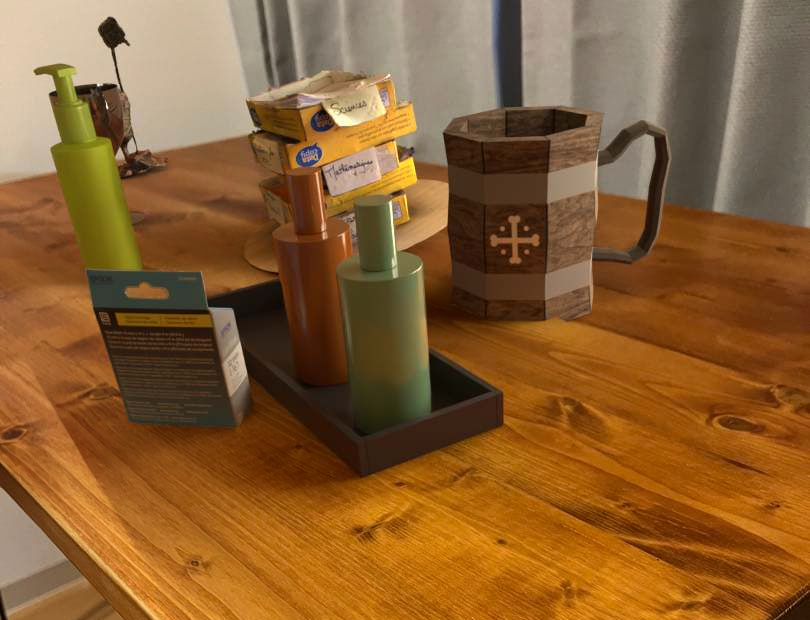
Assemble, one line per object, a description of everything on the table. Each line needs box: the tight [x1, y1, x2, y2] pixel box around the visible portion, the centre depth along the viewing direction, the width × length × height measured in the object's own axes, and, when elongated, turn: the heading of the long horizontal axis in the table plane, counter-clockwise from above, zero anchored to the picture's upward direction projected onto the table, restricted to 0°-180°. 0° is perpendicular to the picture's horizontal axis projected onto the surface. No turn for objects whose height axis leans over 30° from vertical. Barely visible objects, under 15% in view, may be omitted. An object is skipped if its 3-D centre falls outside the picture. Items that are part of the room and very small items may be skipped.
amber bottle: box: [272, 166, 353, 386], centre depth 65 cm, size 6×6×15 cm
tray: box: [206, 277, 505, 479], centre depth 69 cm, size 11×31×3 cm, turn 31°
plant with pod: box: [97, 15, 169, 178], centre depth 126 cm, size 8×11×20 cm
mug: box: [442, 104, 673, 323], centre depth 76 cm, size 20×14×15 cm
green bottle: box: [335, 195, 432, 435], centre depth 58 cm, size 6×6×15 cm
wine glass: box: [48, 82, 147, 225], centre depth 107 cm, size 8×8×15 cm
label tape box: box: [84, 268, 255, 429], centre depth 62 cm, size 9×4×12 cm, turn 77°
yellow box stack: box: [243, 68, 449, 273], centre depth 93 cm, size 25×25×17 cm
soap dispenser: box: [33, 62, 144, 270], centre depth 89 cm, size 6×7×20 cm
